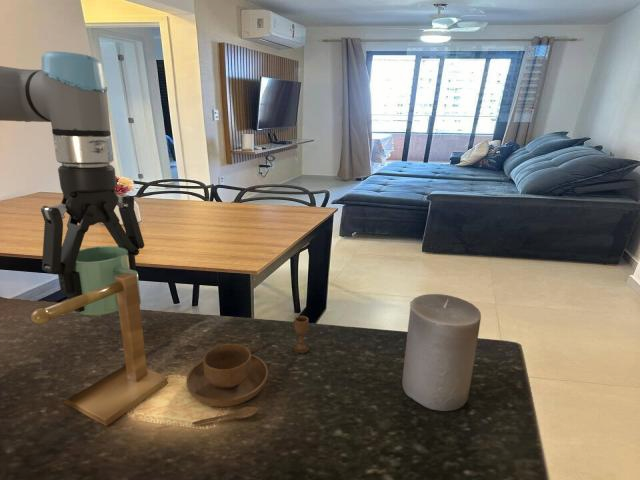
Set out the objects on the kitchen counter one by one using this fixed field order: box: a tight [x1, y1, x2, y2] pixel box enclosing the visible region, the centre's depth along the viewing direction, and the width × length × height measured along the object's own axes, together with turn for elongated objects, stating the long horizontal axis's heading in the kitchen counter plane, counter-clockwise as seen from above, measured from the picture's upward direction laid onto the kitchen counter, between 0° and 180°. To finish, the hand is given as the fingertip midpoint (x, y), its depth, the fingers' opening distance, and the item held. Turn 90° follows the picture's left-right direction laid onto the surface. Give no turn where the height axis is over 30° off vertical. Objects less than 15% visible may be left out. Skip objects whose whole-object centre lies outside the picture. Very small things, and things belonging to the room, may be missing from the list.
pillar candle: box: [401, 293, 482, 412], centre depth 56 cm, size 10×10×15 cm
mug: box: [73, 245, 142, 316], centre depth 63 cm, size 13×9×9 cm, turn 63°
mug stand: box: [30, 273, 169, 427], centre depth 52 cm, size 12×14×17 cm
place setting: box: [185, 315, 310, 426], centre depth 58 cm, size 18×20×6 cm
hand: (103, 298), depth 65 cm, fingers closed on mug, 9 cm apart
